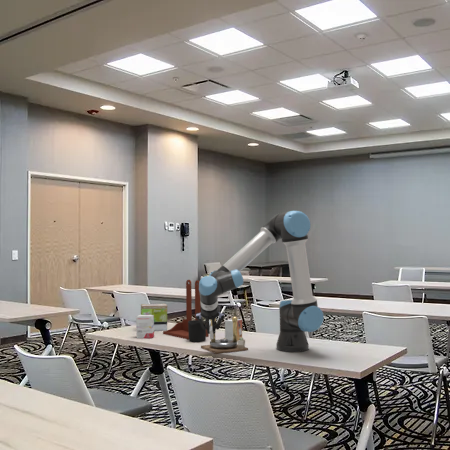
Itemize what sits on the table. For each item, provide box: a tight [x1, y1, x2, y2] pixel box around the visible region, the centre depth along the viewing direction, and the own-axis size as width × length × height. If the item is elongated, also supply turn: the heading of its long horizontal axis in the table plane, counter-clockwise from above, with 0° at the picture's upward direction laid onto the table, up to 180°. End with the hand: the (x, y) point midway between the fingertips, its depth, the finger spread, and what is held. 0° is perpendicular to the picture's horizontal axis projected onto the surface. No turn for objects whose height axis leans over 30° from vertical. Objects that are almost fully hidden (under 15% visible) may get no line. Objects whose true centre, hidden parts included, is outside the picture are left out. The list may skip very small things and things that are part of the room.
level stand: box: [200, 336, 249, 355], centre depth 255 cm, size 17×17×6 cm
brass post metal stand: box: [209, 316, 239, 349], centre depth 256 cm, size 13×13×14 cm
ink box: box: [135, 314, 155, 339], centre depth 289 cm, size 9×5×12 cm, turn 79°
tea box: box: [140, 303, 168, 332], centre depth 314 cm, size 15×10×15 cm, turn 102°
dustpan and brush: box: [162, 279, 210, 341], centre depth 295 cm, size 24×13×30 cm, turn 41°
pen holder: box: [188, 319, 207, 343], centre depth 278 cm, size 9×9×10 cm
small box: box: [224, 318, 243, 342], centre depth 278 cm, size 8×6×10 cm
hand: (211, 336), depth 250 cm, fingers closed
